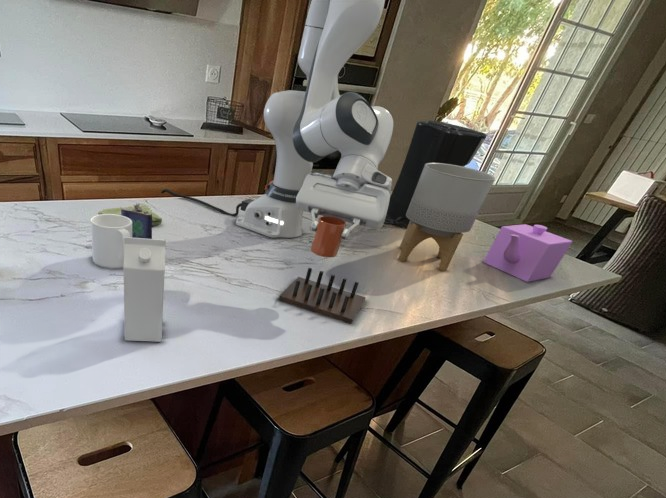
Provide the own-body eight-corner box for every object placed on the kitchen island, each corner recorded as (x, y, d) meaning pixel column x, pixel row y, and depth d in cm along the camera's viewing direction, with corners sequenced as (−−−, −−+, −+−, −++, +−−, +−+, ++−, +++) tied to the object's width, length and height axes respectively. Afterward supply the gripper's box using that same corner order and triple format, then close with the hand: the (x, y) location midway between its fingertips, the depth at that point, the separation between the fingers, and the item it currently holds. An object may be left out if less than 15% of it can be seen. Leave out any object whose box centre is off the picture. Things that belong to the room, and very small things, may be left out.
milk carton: (126, 322, 89) (125, 230, 77) (161, 323, 90) (165, 233, 78) (124, 341, 83) (122, 245, 72) (161, 342, 84) (165, 247, 73)
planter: (379, 248, 141) (411, 162, 125) (421, 245, 148) (456, 163, 132) (421, 273, 128) (463, 179, 112) (465, 268, 135) (510, 180, 119)
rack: (278, 299, 104) (283, 280, 101) (297, 280, 115) (302, 262, 111) (351, 324, 99) (358, 303, 96) (364, 301, 109) (371, 282, 106)
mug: (85, 257, 112) (83, 216, 106) (119, 250, 117) (119, 212, 111) (110, 275, 105) (108, 233, 99) (145, 268, 110) (145, 228, 104)
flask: (119, 240, 123) (119, 201, 116) (124, 237, 125) (124, 199, 119) (149, 248, 121) (150, 208, 115) (153, 244, 124) (155, 206, 117)
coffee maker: (453, 226, 173) (497, 130, 152) (420, 240, 153) (465, 132, 133) (401, 209, 184) (435, 118, 164) (363, 220, 165) (397, 118, 144)
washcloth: (96, 216, 137) (95, 206, 135) (147, 213, 145) (148, 203, 143) (110, 231, 128) (109, 220, 126) (164, 227, 136) (164, 216, 134)
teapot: (469, 264, 139) (491, 219, 131) (514, 257, 150) (538, 216, 141) (513, 284, 129) (540, 238, 121) (558, 275, 140) (586, 232, 131)
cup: (307, 252, 98) (316, 220, 94) (315, 245, 103) (323, 214, 98) (332, 259, 97) (342, 227, 92) (339, 252, 101) (348, 220, 96)
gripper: (308, 161, 98) (283, 214, 97) (399, 180, 91) (374, 238, 90) (309, 179, 104) (286, 229, 103) (395, 198, 97) (371, 253, 96)
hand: (328, 234), depth 96 cm, fingers closed on cup, 6 cm apart
